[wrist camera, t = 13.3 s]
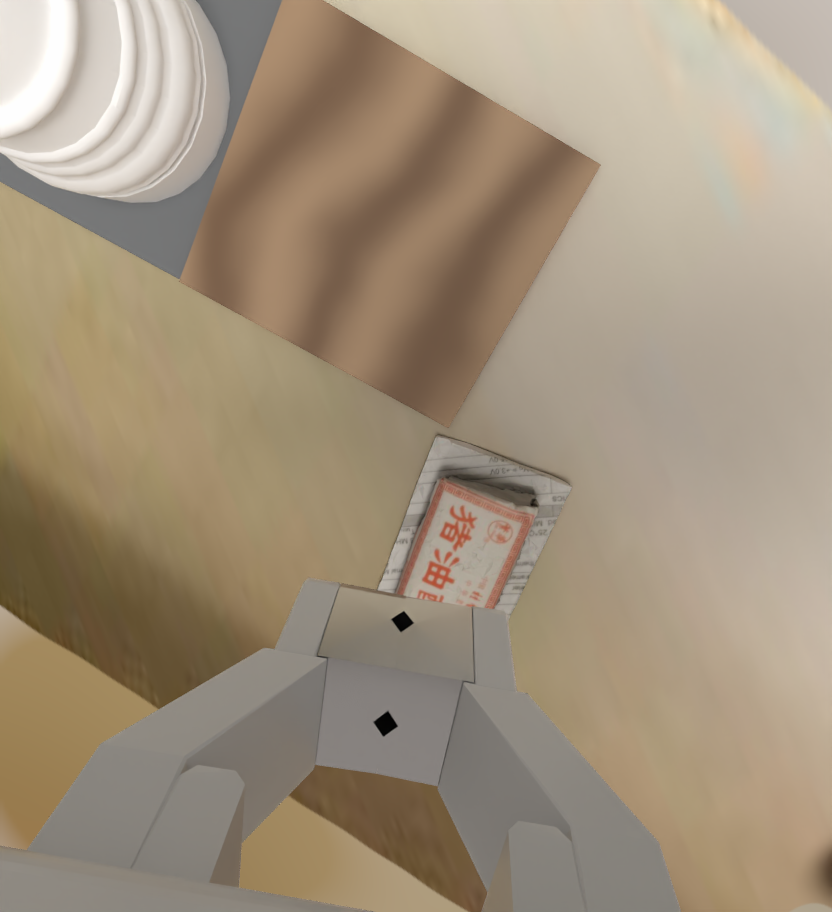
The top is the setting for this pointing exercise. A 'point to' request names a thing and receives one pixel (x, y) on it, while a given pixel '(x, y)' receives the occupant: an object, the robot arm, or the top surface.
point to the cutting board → (380, 210)
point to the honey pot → (111, 94)
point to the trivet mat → (178, 217)
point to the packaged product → (473, 528)
